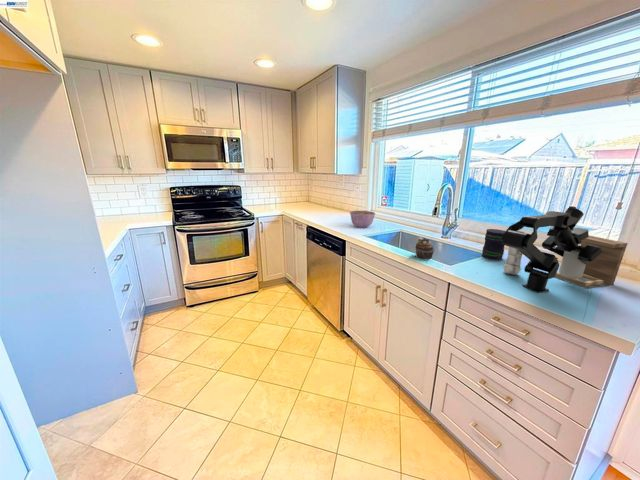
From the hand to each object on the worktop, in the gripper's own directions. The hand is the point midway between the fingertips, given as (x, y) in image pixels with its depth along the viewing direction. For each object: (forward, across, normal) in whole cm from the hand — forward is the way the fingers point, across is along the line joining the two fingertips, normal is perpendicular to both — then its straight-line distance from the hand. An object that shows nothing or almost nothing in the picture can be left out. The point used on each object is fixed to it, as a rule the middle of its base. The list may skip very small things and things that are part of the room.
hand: (576, 260), depth 112 cm
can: (+4, 0, +6) cm, 7 cm away
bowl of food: (-28, +118, +43) cm, 129 cm away
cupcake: (-23, +42, +38) cm, 61 cm away
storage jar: (+3, +35, +12) cm, 37 cm away
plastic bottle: (-4, +14, +19) cm, 24 cm away
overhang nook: (+14, +2, +1) cm, 14 cm away
